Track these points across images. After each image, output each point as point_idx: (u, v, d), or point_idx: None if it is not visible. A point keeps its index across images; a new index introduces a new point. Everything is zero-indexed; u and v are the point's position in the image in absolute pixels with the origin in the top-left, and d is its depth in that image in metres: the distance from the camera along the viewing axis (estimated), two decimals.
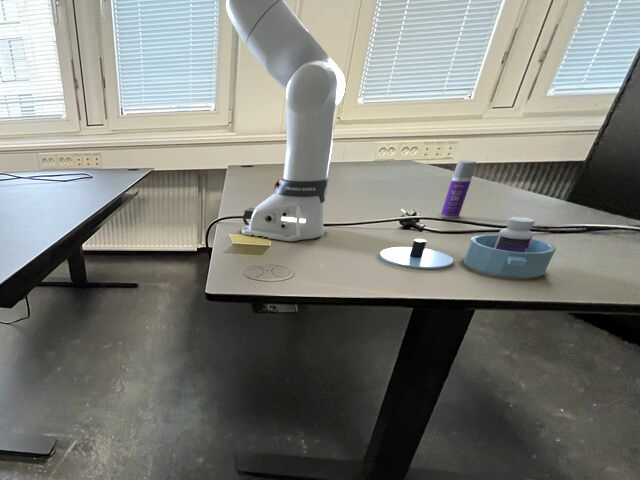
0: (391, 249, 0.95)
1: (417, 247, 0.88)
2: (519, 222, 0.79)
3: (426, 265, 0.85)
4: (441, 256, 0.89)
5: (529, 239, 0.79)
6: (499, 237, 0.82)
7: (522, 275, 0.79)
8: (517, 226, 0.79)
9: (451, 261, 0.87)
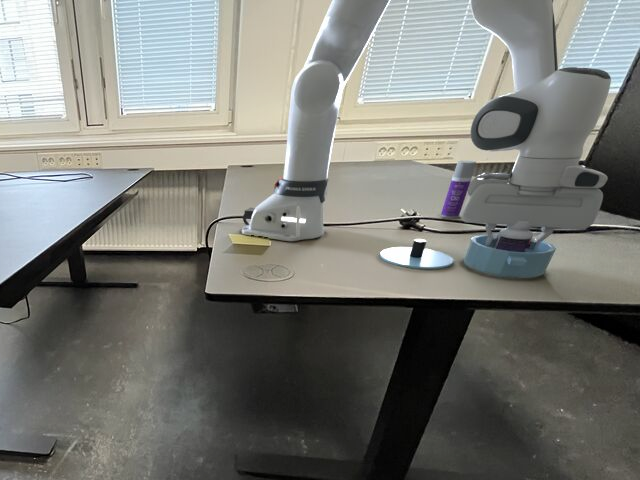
0: (391, 249, 0.95)
1: (417, 247, 0.88)
2: (519, 222, 0.79)
3: (426, 265, 0.85)
4: (441, 256, 0.89)
5: (529, 239, 0.79)
6: (499, 237, 0.82)
7: (522, 275, 0.79)
8: (516, 226, 0.79)
9: (451, 261, 0.87)
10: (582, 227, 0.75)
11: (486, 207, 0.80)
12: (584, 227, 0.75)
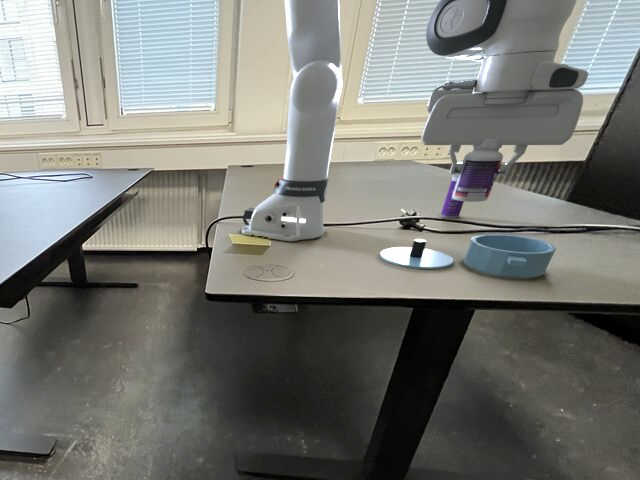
0: (391, 249, 0.95)
1: (417, 247, 0.88)
2: (486, 140, 0.67)
3: (426, 265, 0.85)
4: (441, 256, 0.89)
5: (498, 161, 0.67)
6: (464, 162, 0.70)
7: (522, 275, 0.79)
8: (483, 146, 0.67)
9: (451, 261, 0.87)
10: (559, 141, 0.63)
11: (447, 125, 0.68)
12: (562, 141, 0.63)
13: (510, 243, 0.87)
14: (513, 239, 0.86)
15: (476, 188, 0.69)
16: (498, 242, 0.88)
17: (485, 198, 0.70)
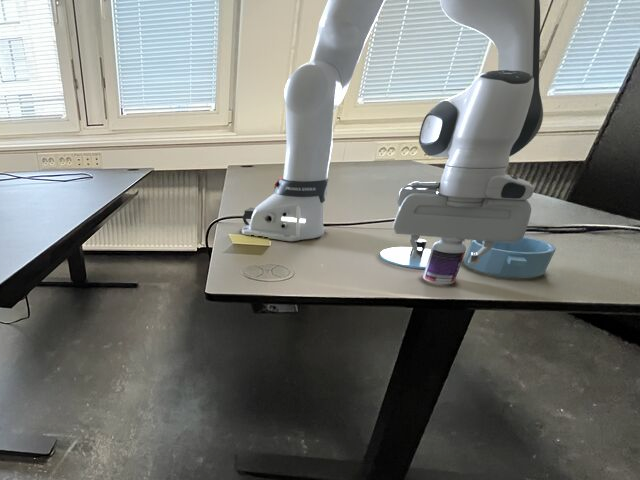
0: (391, 249, 0.95)
1: None
2: None
3: None
4: None
5: (462, 253, 0.75)
6: (432, 250, 0.78)
7: (522, 275, 0.79)
8: (448, 240, 0.75)
9: None
10: (512, 241, 0.70)
11: (415, 219, 0.76)
12: (514, 241, 0.70)
13: (510, 243, 0.87)
14: None
15: (442, 275, 0.77)
16: (498, 242, 0.88)
17: None
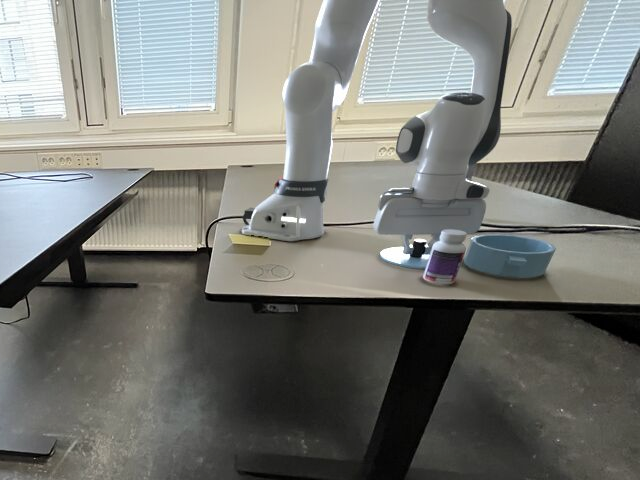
0: (391, 249, 0.95)
1: (417, 247, 0.88)
2: (450, 235, 0.74)
3: None
4: None
5: (462, 253, 0.75)
6: (432, 250, 0.78)
7: (522, 275, 0.79)
8: (448, 240, 0.75)
9: None
10: (472, 232, 0.85)
11: (396, 220, 0.85)
12: (473, 232, 0.85)
13: (510, 243, 0.87)
14: (513, 239, 0.86)
15: (443, 275, 0.77)
16: (498, 242, 0.88)
17: None
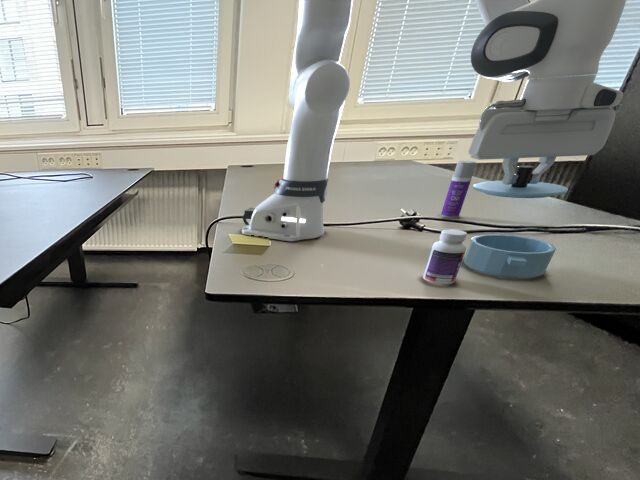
0: (484, 182, 0.82)
1: (522, 174, 0.75)
2: (450, 235, 0.74)
3: (538, 192, 0.72)
4: (550, 185, 0.76)
5: (462, 253, 0.75)
6: (432, 250, 0.78)
7: (522, 275, 0.79)
8: (448, 240, 0.75)
9: (566, 188, 0.74)
10: (593, 152, 0.72)
11: (501, 140, 0.73)
12: (595, 152, 0.72)
13: (510, 243, 0.87)
14: (513, 239, 0.86)
15: (443, 275, 0.77)
16: (498, 242, 0.88)
17: None
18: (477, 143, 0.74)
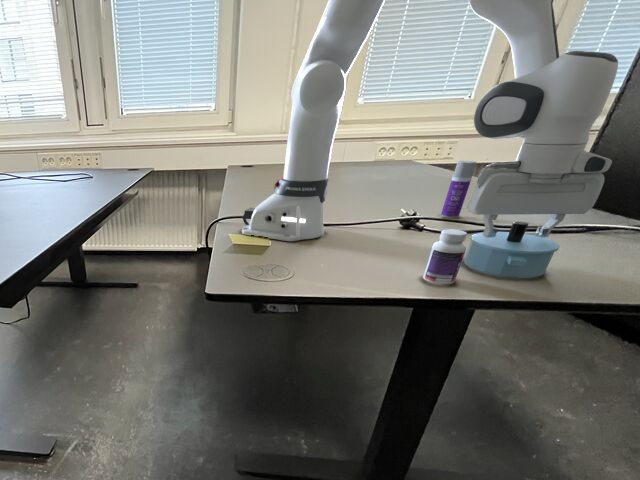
0: (481, 234, 0.87)
1: (517, 230, 0.80)
2: (450, 235, 0.74)
3: (532, 249, 0.77)
4: (543, 241, 0.81)
5: (462, 253, 0.75)
6: (432, 250, 0.78)
7: (522, 275, 0.79)
8: (448, 240, 0.75)
9: (557, 245, 0.78)
10: (583, 211, 0.76)
11: (497, 198, 0.77)
12: (585, 211, 0.76)
13: None
14: None
15: (443, 275, 0.77)
16: None
17: None
18: (475, 199, 0.78)
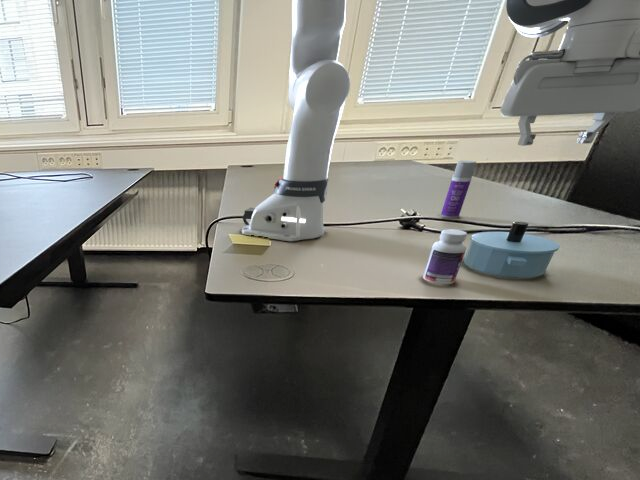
0: (481, 234, 0.87)
1: (517, 230, 0.80)
2: (450, 235, 0.74)
3: (532, 249, 0.77)
4: (543, 241, 0.81)
5: (462, 253, 0.75)
6: (432, 250, 0.78)
7: (522, 275, 0.79)
8: (448, 240, 0.75)
9: (557, 245, 0.78)
10: (635, 108, 0.67)
11: (537, 95, 0.68)
12: (636, 108, 0.67)
13: None
14: None
15: (443, 275, 0.77)
16: None
17: None
18: (511, 99, 0.70)
